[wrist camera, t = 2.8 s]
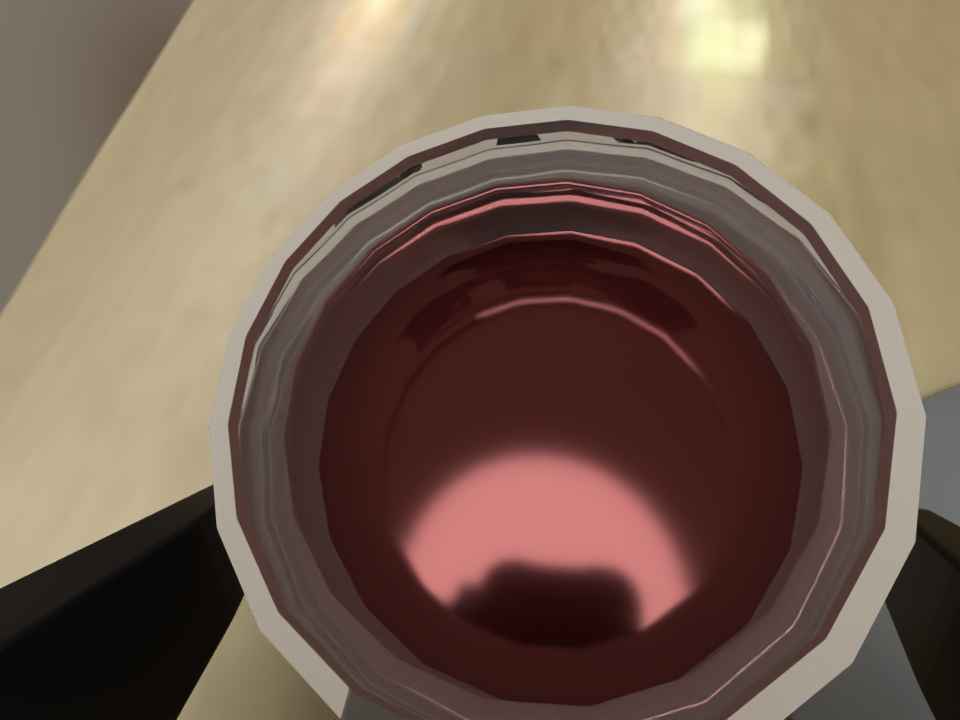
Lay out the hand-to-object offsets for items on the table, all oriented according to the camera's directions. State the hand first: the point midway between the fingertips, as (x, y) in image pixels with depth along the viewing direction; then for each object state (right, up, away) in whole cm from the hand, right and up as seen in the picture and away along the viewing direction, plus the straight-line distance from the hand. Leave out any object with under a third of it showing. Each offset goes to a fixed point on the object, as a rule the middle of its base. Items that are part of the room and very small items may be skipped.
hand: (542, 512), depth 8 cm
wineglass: (+2, -2, +9) cm, 9 cm away
